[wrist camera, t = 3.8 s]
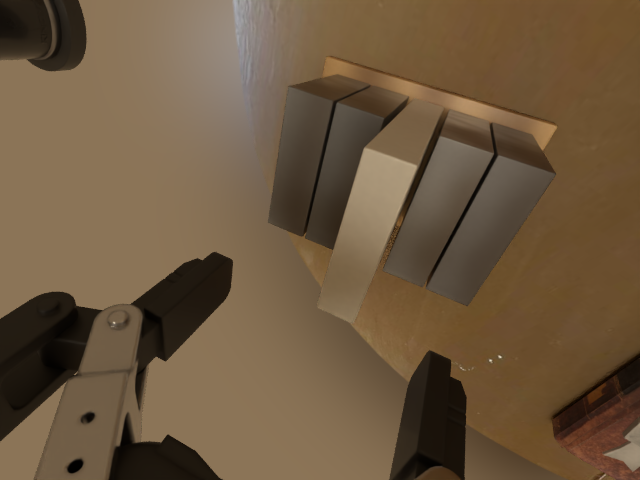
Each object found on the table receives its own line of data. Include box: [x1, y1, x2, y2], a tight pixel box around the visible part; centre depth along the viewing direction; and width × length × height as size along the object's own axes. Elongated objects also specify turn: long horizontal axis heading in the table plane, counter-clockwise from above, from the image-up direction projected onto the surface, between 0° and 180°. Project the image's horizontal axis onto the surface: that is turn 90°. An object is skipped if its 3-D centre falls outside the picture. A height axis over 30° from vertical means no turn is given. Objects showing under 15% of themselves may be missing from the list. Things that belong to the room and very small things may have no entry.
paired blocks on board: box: [268, 56, 558, 306], centre depth 26 cm, size 18×12×10 cm, turn 77°
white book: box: [317, 98, 444, 324], centre depth 23 cm, size 2×10×15 cm, turn 167°
